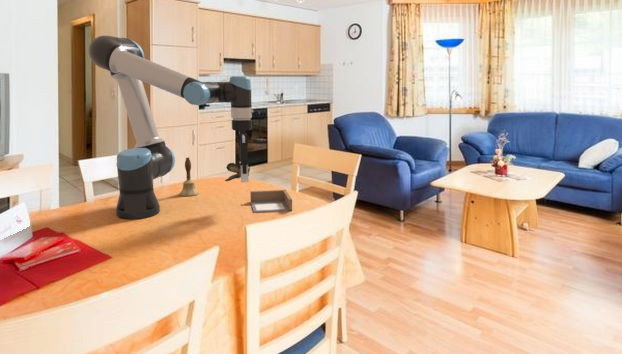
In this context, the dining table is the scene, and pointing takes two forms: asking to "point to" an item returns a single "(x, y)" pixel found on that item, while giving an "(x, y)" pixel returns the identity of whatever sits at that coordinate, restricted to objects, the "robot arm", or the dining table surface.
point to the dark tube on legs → (235, 171)
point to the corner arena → (271, 201)
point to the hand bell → (188, 182)
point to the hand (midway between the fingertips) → (244, 179)
